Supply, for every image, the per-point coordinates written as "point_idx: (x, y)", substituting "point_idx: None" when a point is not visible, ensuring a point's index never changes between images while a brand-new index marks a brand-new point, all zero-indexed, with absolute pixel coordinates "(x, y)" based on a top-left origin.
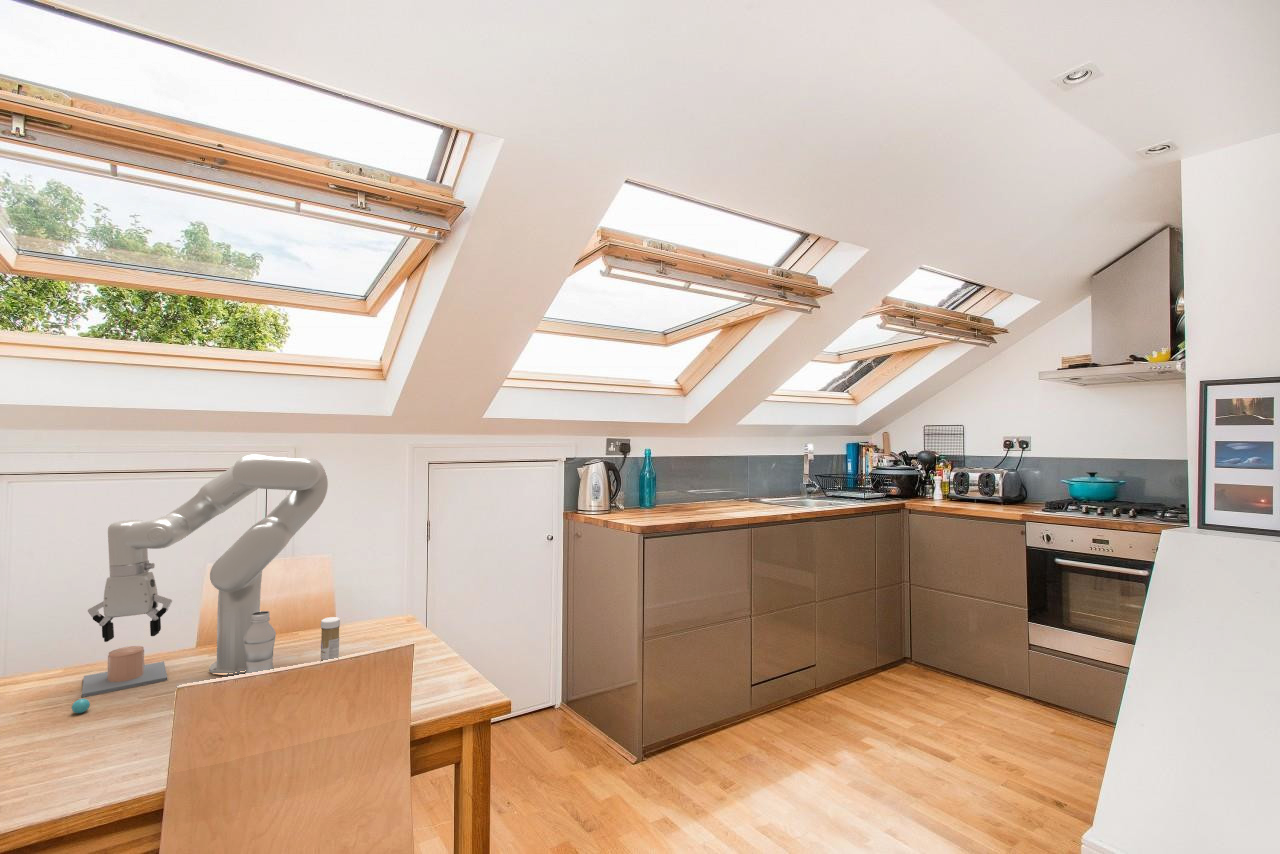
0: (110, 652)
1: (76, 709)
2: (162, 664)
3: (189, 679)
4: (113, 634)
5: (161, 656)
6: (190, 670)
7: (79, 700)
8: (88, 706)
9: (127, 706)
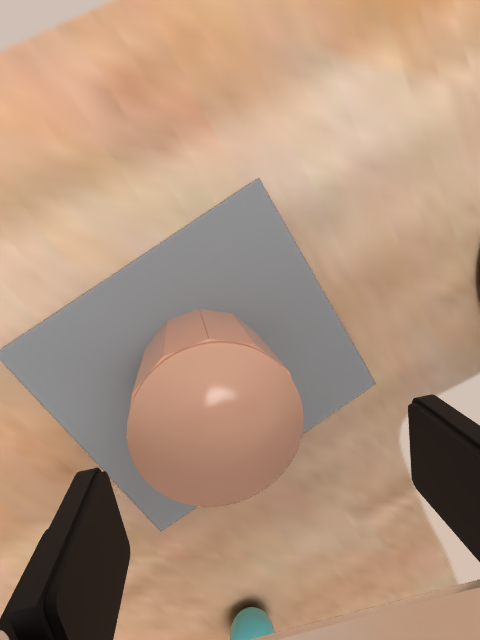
0: (142, 463)
1: None
2: (277, 227)
3: (438, 371)
4: (100, 493)
5: (168, 34)
6: (405, 276)
7: None
8: (273, 627)
9: (354, 567)
